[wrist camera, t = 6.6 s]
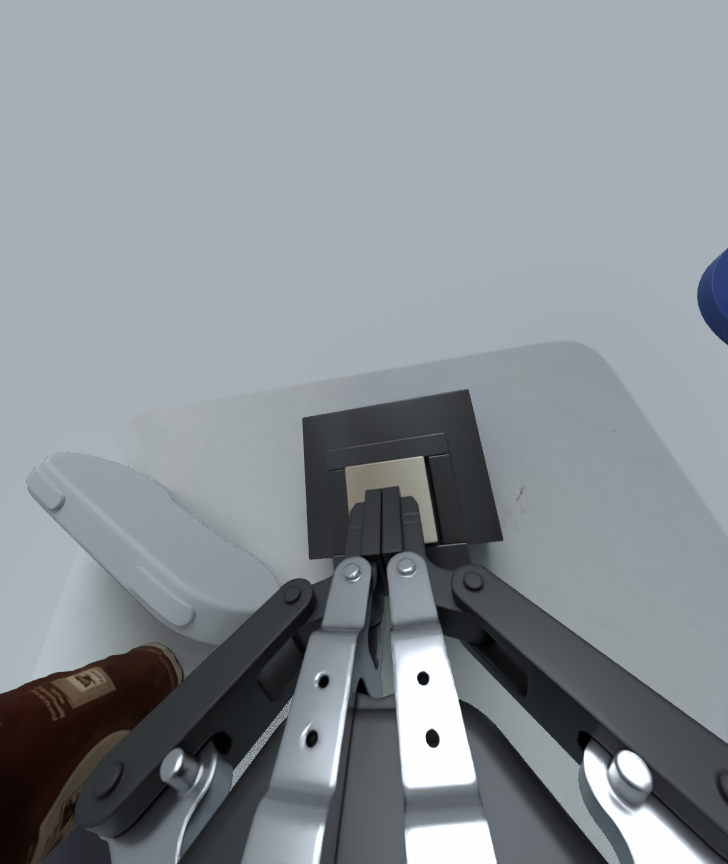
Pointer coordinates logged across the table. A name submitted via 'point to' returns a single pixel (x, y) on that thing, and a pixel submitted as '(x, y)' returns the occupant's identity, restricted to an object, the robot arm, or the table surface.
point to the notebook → (80, 849)
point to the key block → (398, 439)
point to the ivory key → (395, 473)
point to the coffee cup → (69, 741)
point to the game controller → (153, 545)
